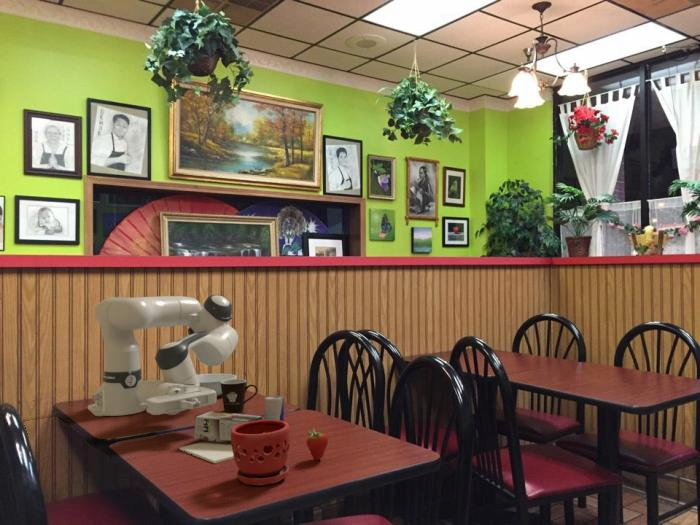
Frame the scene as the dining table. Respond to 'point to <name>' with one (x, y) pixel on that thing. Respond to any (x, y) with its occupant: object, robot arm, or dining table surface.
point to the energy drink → (274, 408)
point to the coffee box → (219, 425)
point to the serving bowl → (214, 381)
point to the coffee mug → (234, 395)
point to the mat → (210, 451)
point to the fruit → (317, 444)
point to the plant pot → (261, 451)
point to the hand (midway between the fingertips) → (196, 405)
